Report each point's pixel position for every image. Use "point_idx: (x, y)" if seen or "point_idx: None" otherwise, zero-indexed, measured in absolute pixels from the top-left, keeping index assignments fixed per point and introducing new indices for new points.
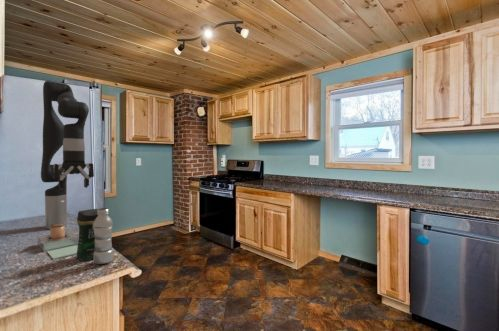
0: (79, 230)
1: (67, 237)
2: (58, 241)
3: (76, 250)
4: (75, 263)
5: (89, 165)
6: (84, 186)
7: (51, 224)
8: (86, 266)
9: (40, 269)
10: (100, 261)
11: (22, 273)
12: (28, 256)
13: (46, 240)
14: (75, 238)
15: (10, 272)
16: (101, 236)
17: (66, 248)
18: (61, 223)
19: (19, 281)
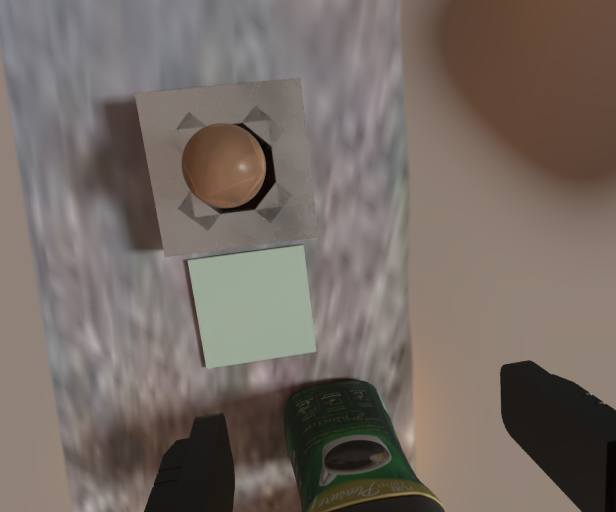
0: (302, 508)
1: (272, 212)
2: (229, 247)
3: (294, 322)
4: (273, 450)
5: None
6: (506, 384)
7: (190, 140)
8: (299, 496)
9: (165, 442)
10: None
11: (113, 446)
12: (119, 267)
13: (178, 204)
14: (305, 237)
15: (74, 415)
16: None
17: (261, 268)
18: (247, 152)
19: (110, 507)
